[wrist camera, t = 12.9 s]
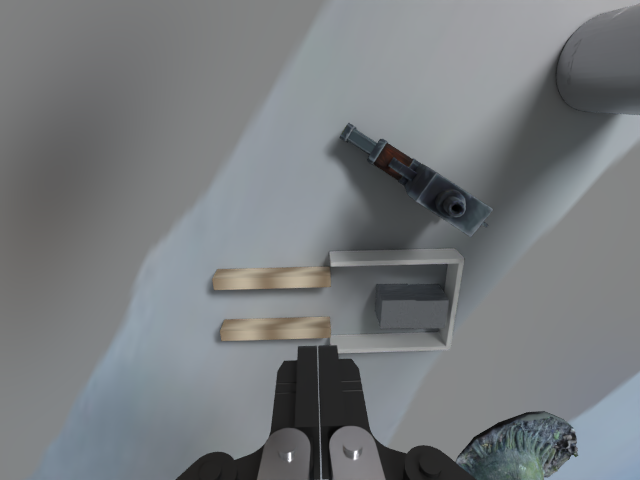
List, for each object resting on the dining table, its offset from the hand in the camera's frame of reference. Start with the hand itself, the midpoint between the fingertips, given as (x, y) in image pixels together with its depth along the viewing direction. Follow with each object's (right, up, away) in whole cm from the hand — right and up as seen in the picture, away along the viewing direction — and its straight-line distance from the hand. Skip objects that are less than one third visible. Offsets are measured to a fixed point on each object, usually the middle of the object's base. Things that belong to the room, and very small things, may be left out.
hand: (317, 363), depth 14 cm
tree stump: (+31, -30, +45) cm, 63 cm away
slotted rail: (-6, -3, +32) cm, 33 cm away
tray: (+9, -3, +33) cm, 34 cm away
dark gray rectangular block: (+9, -3, +33) cm, 34 cm away
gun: (+9, +13, +27) cm, 31 cm away
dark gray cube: (+13, -3, +33) cm, 36 cm away
